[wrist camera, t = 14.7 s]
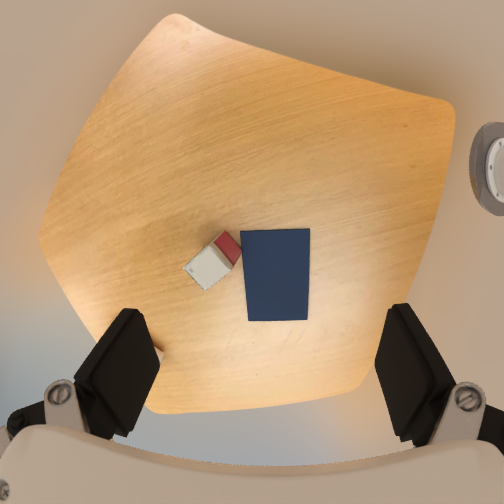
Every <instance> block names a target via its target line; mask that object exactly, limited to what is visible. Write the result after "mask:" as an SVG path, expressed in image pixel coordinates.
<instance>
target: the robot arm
mask: <svg viewBox="0 0 504 504" xmlns="http://www.w3.org/2000/svg"><path fill="white" fill-rule="evenodd" d="M485 172H486V181H487V185H488V188H489V190H490V192H491V194H492V196H493V197H494V198H495V199H496V200H498V201H500V202H502V203H504V138H498V139H496V140H495V141H494V142H493V143H492V144H491V146H490V148H489V150H488V153H487V158H486V166H485ZM159 368H160V361H159V358H158V355H157V353H156V350H155V348H154V345H153V342H152V339H151V336H150V334H149V331H148V328H147V325H146V322H145V319H144V316H143V314H142V313H140V312H139V310H138V309H130V308H124V309H123V310H122V311H121V312H120V313H119V315H118V316H117V317H116V319H115V320H114V321H113V322H112V324H111V325H110V326H109V328H108V329H107V330H106V332H105V333H104V334H103V336H102V337H101V339H100V340H99V341H98V343H97V344H96V345H95V347H94V348H93V350H92V351H91V352H90V354H89V355H88V357H87V358H86V360H85V361H84V362H83V364H82V365H81V367H80V368H79V369H78V371H77V372H76V374H75V375H74V379H75V382H74V383H72V382H71V381H69V380H64V379H62V380H57V381H55V382H53V383H52V384H51V385H50V386H49V387H48V388H47V389H46V391H45V393H44V400H43V401H41V402H38V403H35V404H33V405H30V406H27V407H25V408H21V409H19V410H16V411H15V412H13V413H12V414H11V415H10V417H9V418H8V421H7V427H6V426H5V425H3V426H2V427H0V504H504V411H502V410H499V409H497V408H494V407H491V406H489V405H487V404H486V397H485V393H484V392H483V390H482V389H481V388H480V387H479V386H478V385H476V384H474V383H471V382H461V383H459V384H456V382H455V380H454V378H453V377H452V375H451V373H450V371H449V369H448V367H447V366H446V364H445V362H444V360H443V358H442V357H441V355H440V353H439V351H438V350H437V348H436V346H435V344H434V343H433V341H432V340H431V338H430V337H429V335H428V334H427V332H426V330H425V329H424V327H423V325H422V324H421V322H420V321H419V319H418V317H417V316H416V314H415V313H414V311H413V310H412V308H411V307H410V305H409V304H408V303H402V304H394V305H393V306H392V308H390V309H388V312H387V316H386V320H385V324H384V328H383V332H382V336H381V340H380V344H379V347H378V351H377V354H376V358H375V369H376V372H377V375H378V378H379V382H380V384H381V388H382V391H383V394H384V397H385V401H386V404H387V408H388V411H389V415H390V418H391V422H392V425H393V429H394V432H395V435H396V436H399V437H400V440H401V442H405V441H409V440H412V442H413V445H414V447H413V449H409V450H405V451H402V452H397V453H392V454H388V455H383V456H378V457H372V458H366V459H360V460H353V461H346V462H339V463H329V464H319V465H303V466H246V465H231V464H221V463H212V462H204V461H196V460H190V459H184V458H178V457H173V456H167V455H163V454H158V453H154V452H149V451H145V450H141V449H137V448H134V447H130V446H126V445H123V444H119V443H116V442H114V441H113V438H112V437H113V435H114V433H115V434H117V435H120V436H123V437H127V435H128V433H129V432H130V431H132V430H133V429H134V426H135V424H136V421H137V419H138V417H139V414H140V412H141V410H142V407H143V405H144V403H145V401H146V398H147V396H148V394H149V391H150V389H151V387H152V385H153V382H154V380H155V378H156V375H157V373H158V371H159Z"/></svg>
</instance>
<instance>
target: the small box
mask: <svg viewBox="0 0 504 504" xmlns="http://www.w3.org/2000/svg"><path fill="white" fill-rule="evenodd" d="M241 252H242V250H241V248H240V247H239V246H238V245H237V244H236V243H235V241H234V240H233V239H232V238H231V237H230V236H229V235H228V233H227V232H226V231H222V232H221V233H220V234H218V235H217V236H216V237H215V238H214V239H213V240H211V241H210V242H209V243H208V244H207V245H206V246H205V247H204V248H203V249H202V250H201V251H200V252H199V253H197V255H196V256H195V257H194V258H192V259H191V260H190V261H189V262H188V263H187V264H186V265H185V266H184V267H183V268H184V270H185V271H186V272H187V273H188V274H189V275H190V276H191V277H192V279H193V280H194V281H195V282H196V283H197V284H198V285H199V286H200V287H201V288H202V289H203V290H204V291H206V290H207V289H209V288H210V287H212V286H213V285H214V284H216V283H217V282H218V281H220V280H221V279H222V278H223V277H225V276H226V275H227V274H228V273H229V272H230V271H231V270H232V268H233V266H234V265H235V263H236V261H237V260H238V258H239V256H240V254H241Z"/></svg>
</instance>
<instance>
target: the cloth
mask: <svg viewBox="0 0 504 504" xmlns="http://www.w3.org/2000/svg"><path fill="white" fill-rule="evenodd" d="M240 236H241V247H242V258H243V269H244V279H245V290H246V300H247V311H248V321H288V320H307V317H308V293H309V254H310V229H283V230H255V231H240Z"/></svg>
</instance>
